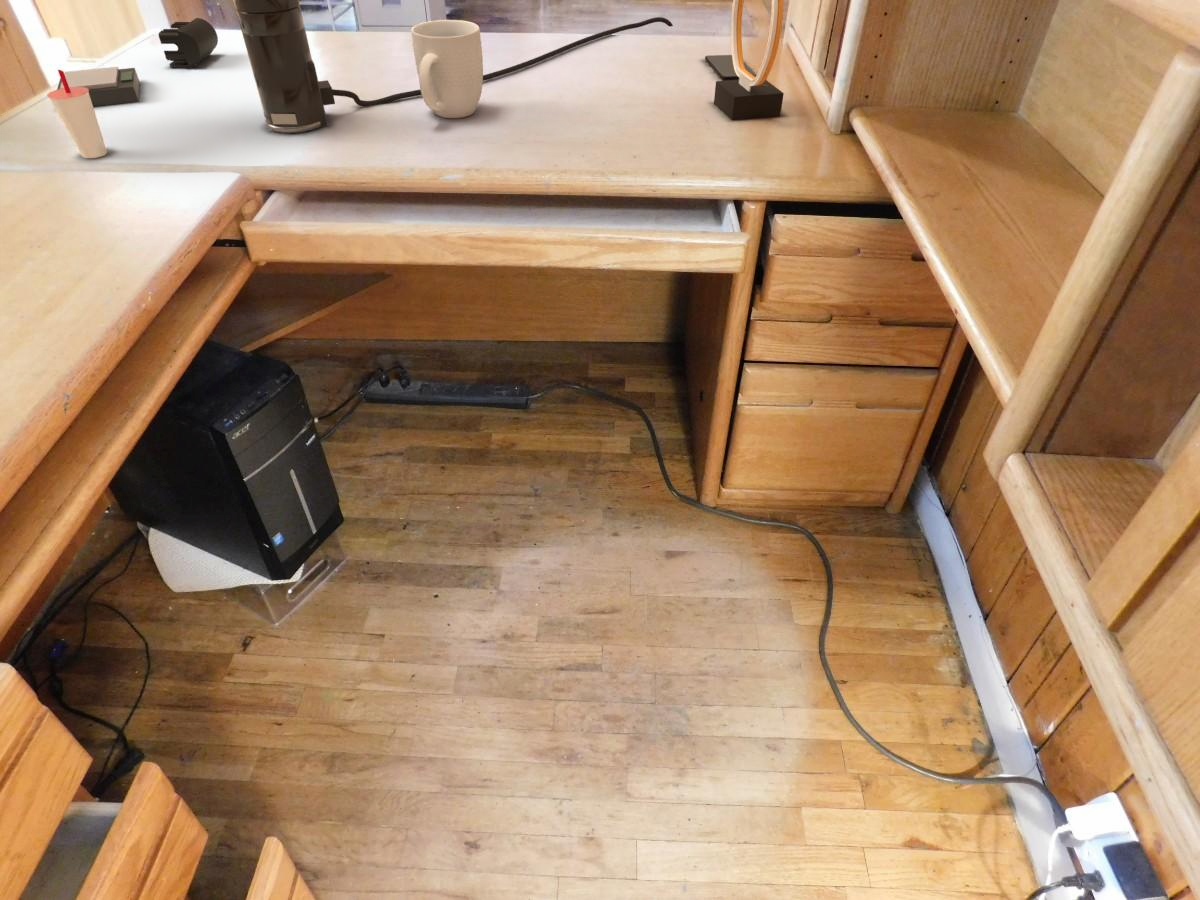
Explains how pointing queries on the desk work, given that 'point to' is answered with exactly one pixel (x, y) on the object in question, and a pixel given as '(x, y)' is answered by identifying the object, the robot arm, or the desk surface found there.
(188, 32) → the end cap
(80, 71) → the scale
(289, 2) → the robot arm
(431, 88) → the mug
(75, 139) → the cup
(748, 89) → the lamp
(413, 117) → the desk surface
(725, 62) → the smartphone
